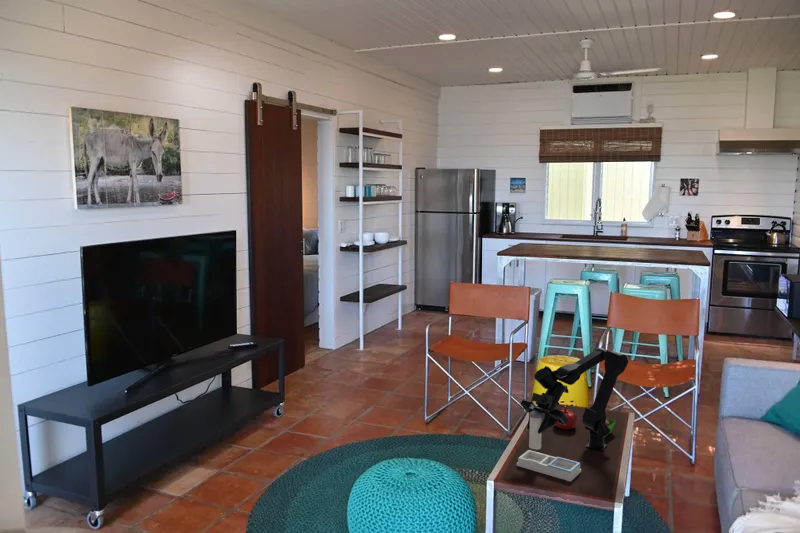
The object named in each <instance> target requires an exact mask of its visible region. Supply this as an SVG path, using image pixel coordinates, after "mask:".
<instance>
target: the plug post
mask: <svg viewBox="0 0 800 533" xmlns="http://www.w3.org/2000/svg"><path fill="white" fill-rule="evenodd" d="M543 415H544V414H542V413H541V412H538V411H532V412H530V413H529V412H528V417H529V416H530V430H529V436H528V437H529V439H528V440H529V441H528V443H529V444H528V447H529V449H530V450H531V449H532V450H541V448H542V435H543V434H542V433H543V432H541V433H540V434H539V433H538V430H539V428H540V426H541V424H542V422H543V417H544V416H543Z"/></svg>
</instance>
